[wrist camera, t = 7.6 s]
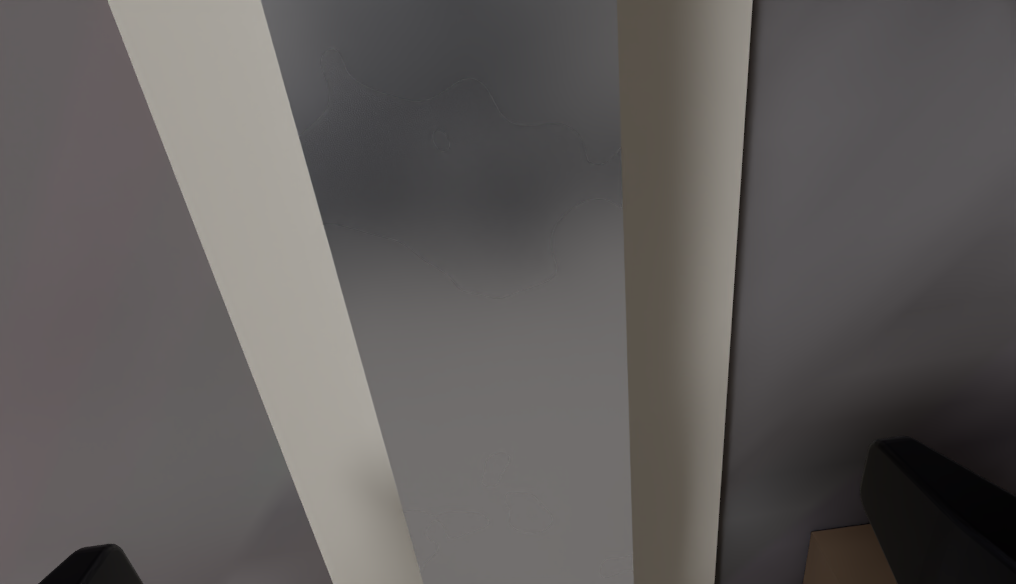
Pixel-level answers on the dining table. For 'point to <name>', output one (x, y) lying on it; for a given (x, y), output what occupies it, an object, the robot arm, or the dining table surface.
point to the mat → (322, 310)
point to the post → (847, 557)
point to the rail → (479, 266)
